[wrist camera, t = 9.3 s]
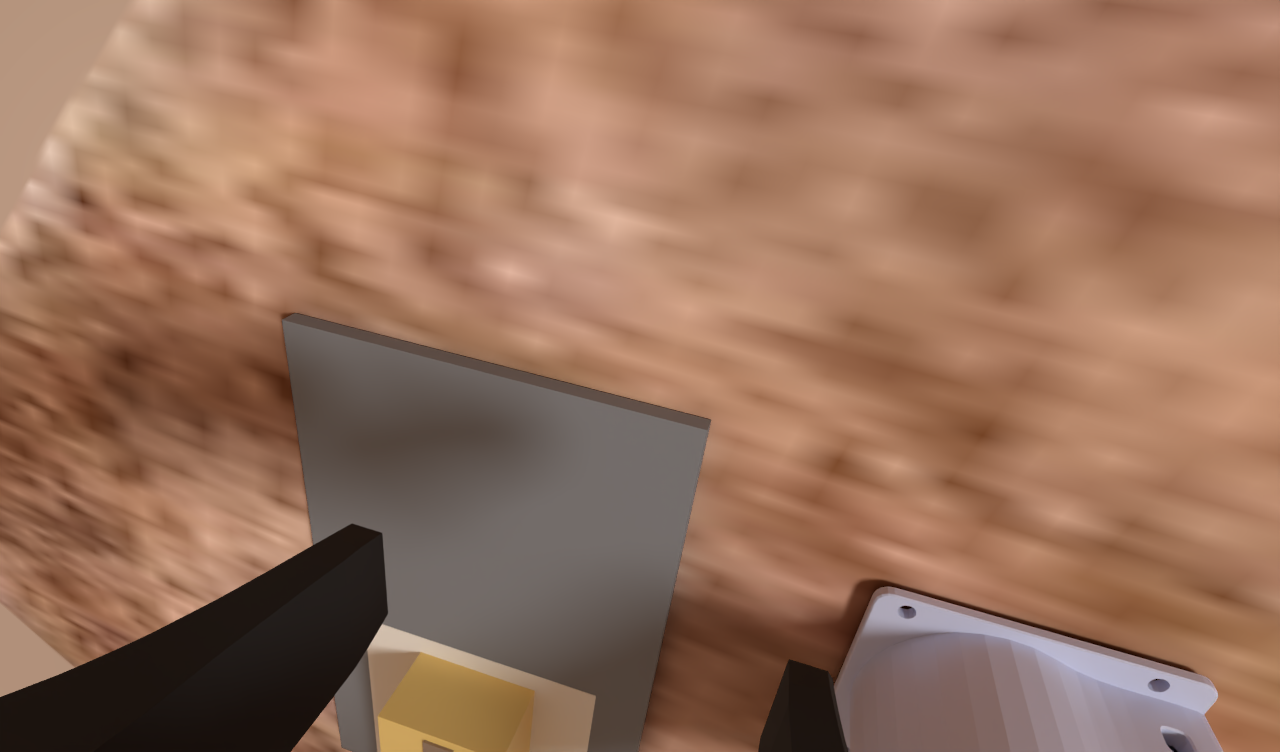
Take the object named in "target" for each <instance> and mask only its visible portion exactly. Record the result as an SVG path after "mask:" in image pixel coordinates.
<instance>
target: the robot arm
mask: <svg viewBox="0 0 1280 752" xmlns="http://www.w3.org/2000/svg"><path fill="white" fill-rule="evenodd" d="M902 606H911V607H913V608H910V609H903V608H901V607H902ZM387 615H388V604H387V590H386V576H385V563H384V549H383V535H382V533H381V532H378V531H375V530H372V529H368V528H365V527H362V526H359V525H355V524H350V525H348V526H346V527H344V528H343V529H341V530H339V531H337V532H335V533H334V534H332V535H330V536H328V537H327V538H325V539H323V540H321V541H320V542H318V543H316V544H314V545H313V546H311V547H309V548H308V549H306V550H304V551H302V552H301V553H299V554H297V555H295V556H294V557H292V558H290V559H288V560H287V561H285V562H283V563H281V564H280V565H278V566H276V567H275V568H273V569H271V570H269V571H268V572H266V573H264V574H262V575H260V576H259V577H257V578H255V579H253V580H251V581H250V582H248V583H246V584H244V585H242V586H241V587H239V588H237V589H235V590H233V591H232V592H230V593H228V594H226V595H224V596H223V597H221V598H219V599H217V600H215V601H213V602H211V603H209V604H208V605H206V606H204V607H202V608H200V609H198V610H196V611H194V612H192V613H190V614H188V615H186V616H184V617H182V618H180V619H178V620H176V621H174V622H172V623H171V624H169V625H167V626H165V627H163V628H161V629H159V630H157V631H155V632H153V633H151V634H149V635H147V636H145V637H143V638H140V639H138V640H136V641H134V642H132V643H130V644H128V645H125V646H123V647H121V648H119V649H117V650H115V651H112V652H110V653H108V654H106V655H103V656H101V657H99V658H96V659H94V660H92V661H90V662H87V663H85V664H83V665H80V666H78V667H76V668H74V669H71V670H69V671H66V672H64V673H62V674H59V675H57V676H54V677H52V678H49V679H47V680H44V681H41V682H39V683H36V684H33V685H31V686H28V687H26V688H23V689H21V690H18V691H15V692H13V693H10V694H7V695H5V696H2V697H0V752H291V750H292V749H293V748H294V747H295V745H296V744H297V743H298V742H299V740H300V739H301V738H302V736H303V735H304V734H305V733H306V731H307V730H308V729H309V727H310V726H311V725H312V724H313V722H314V721H315V720H316V719H317V717H318V716H319V715H320V713H321V712H322V711H323V710H324V708H325V707H326V706H327V704H328V703H329V702H330V700H331V699H332V698H333V697H334V695H335V694H336V693H337V691H338V690H339V689H340V687H341V686H342V685H343V684H344V682H345V681H346V680H347V678H348V677H349V676H350V674H351V673H352V672H353V670H354V669H355V668H356V666H357V665H358V663H359V661H360V660H361V658H362V657H363V655H364V653H365V652H366V650H367V649H368V647H369V645H370V644H371V642H372V640H373V639H374V637H375V635H376V634H377V632H378V630H379V629H380V627H381V625H382V623H383V622H384V620H385V618H386V617H387ZM1154 679H1160V680H1155V681H1153V680H1154ZM1217 698H1218V693H1217V690H1216V688H1215V687H1214V685H1213V683H1212V682H1211V681H1210V680H1209V679H1208V678H1207V677H1205V676H1202V675H1199V674H1196V673H1192V672H1189V671H1185V670H1182V669H1178V668H1175V667H1171V666H1168V665H1164V664H1161V663H1157V662H1154V661H1150V660H1147V659H1143V658H1140V657H1136V656H1133V655H1129V654H1126V653H1122V652H1119V651H1115V650H1112V649H1108V648H1105V647H1101V646H1098V645H1094V644H1091V643H1087V642H1084V641H1080V640H1077V639H1073V638H1070V637H1066V636H1063V635H1059V634H1056V633H1052V632H1049V631H1045V630H1042V629H1038V628H1035V627H1031V626H1028V625H1024V624H1021V623H1017V622H1014V621H1010V620H1007V619H1003V618H1000V617H996V616H993V615H989V614H986V613H982V612H979V611H975V610H972V609H968V608H965V607H961V606H958V605H954V604H951V603H948V602H944V601H941V600H937V599H934V598H930V597H927V596H923V595H920V594H916V593H913V592H909V591H906V590H902V589H899V588H895V587H888V586H887V587H881V588H879V589H877V590H876V591H875V592H874V593H873V595H872V597H871V600H870V602H869V604H868V607H867V609H866V611H865V614H864V616H863V619H862V621H861V623H860V626H859V628H858V630H857V633H856V635H855V637H854V640H853V642H852V645H851V647H850V649H849V652H848V654H847V656H846V659H845V661H844V663H843V666H842V668H841V670H840V673H839V675H838V678H837V680H836V682H835V685H834V684H833V678H832V677H831V675H830V674H829V673H828V671H825V670H822V669H819V668H815V667H812V666H809V665H806V664H802V663H799V662H796V661H793V660H790V659H789V661H788V663H787V666H786V669H785V672H784V675H783V677H782V680H781V683H780V686H779V688H778V691H777V694H776V697H775V699H774V702H773V705H772V708H771V710H770V713H769V716H768V719H767V721H766V724H765V727H764V730H763V732H762V735H761V738H760V745H759V751H758V752H1223V750H1222V748H1221V746H1220V744H1219V742H1218V740H1217V739H1216V737H1215V735H1214V733H1213V731H1212V729H1211V727H1210V725H1209V723H1208V721H1207V719H1206V717H1205V716H1204V714H1205V713H1206V712H1207V711H1208V709H1209V708H1210V707H1211V706H1212V705H1213V704H1214V703H1215V701H1216V700H1217Z"/></svg>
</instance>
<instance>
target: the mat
mask: <svg viewBox="0 0 1280 752" xmlns="http://www.w3.org/2000/svg"><path fill="white" fill-rule="evenodd" d="M282 324H283V331H284V338H285V346H286V353H287V360H288V367H289V374H290V381H291V388H292V396H293V403H294V410H295V417H296V424H297V431H298V439H299V446H300V453H301V460H302V467H303V474H304V481H305V489H306V496H307V503H308V510H309V517H310V524H311V531H312V539H313V545H314V544H316V543H318V542H320V541H321V540H323V539H325V538H327V537H328V536H330V535H332V534H334V533H335V532H337V531H339V530H341V529H343V528H344V527H346V526H348V525H350V524H355V525H359V526H362V527H365V528H368V529H372V530H375V531H378V532H381V533H382V535H383V549H384V563H385V576H386V590H387V604H388V615H387V617H386V618H385V620H384V622H383V623H382V625H381V627H380V629H379V630H378V632H377V634H376V635H375V637H374V639H373V640H372V642H371V644H370V645H369V647H368V649H367V650H366V652H365V653H364V655H363V657H362V658H361V660H360V661H359V663H358V665H357V666H356V668H355V669H354V670H353V672H352V673H351V674H350V676H349V677H348V678H347V680H346V681H345V682H344V684H343V685H342V686H341V687H340V689H339V690H338V691H337V693H336V694H335V695H334V696H335V703H336V710H337V717H338V724H339V732H340V739H341V746H342V748H344V749H347V750H350V751H352V752H381V749H380V738H379V726H378V715H379V713H380V712H381V710H382V709H383V707H384V706H385V704H386V703H387V702H388V700H389V699H390V697H391V696H392V694H393V693H394V691H395V690H396V688H397V687H398V685H399V684H400V682H401V681H402V679H403V678H404V676H405V675H406V673H407V672H408V670H409V669H410V667H411V666H412V665H413V663H414V662H415V660H416V659H417V657H418V656H419V654H420V653H421V652H423V653H426V654H428V655H431V656H434V657H437V658H440V659H443V660H446V661H449V662H452V663H455V664H458V665H461V666H464V667H466V668H469V669H472V670H475V671H478V672H481V673H484V674H487V675H490V676H493V677H496V678H499V679H502V680H505V681H507V682H510V683H513V684H516V685H519V686H522V687H525V688H528V689H531V690H534V691H535V695H534V706H533V717H532V728H531V739H530V750H529V752H638V750H639V746H640V741H641V737H642V732H643V728H644V723H645V719H646V714H647V709H648V705H649V700H650V696H651V691H652V687H653V682H654V678H655V673H656V669H657V664H658V659H659V655H660V650H661V646H662V641H663V637H664V632H665V628H666V623H667V619H668V614H669V609H670V605H671V600H672V596H673V591H674V587H675V582H676V578H677V573H678V568H679V564H680V559H681V555H682V550H683V546H684V541H685V537H686V532H687V528H688V523H689V518H690V514H691V509H692V505H693V500H694V496H695V491H696V487H697V482H698V478H699V473H700V468H701V464H702V459H703V455H704V450H705V446H706V441H707V437H708V432H709V428H710V423H711V420H710V419H706V418H702V417H698V416H694V415H690V414H686V413H682V412H679V411H675V410H671V409H667V408H663V407H659V406H655V405H651V404H647V403H644V402H640V401H636V400H632V399H628V398H624V397H620V396H616V395H612V394H608V393H605V392H601V391H597V390H593V389H589V388H585V387H581V386H577V385H573V384H570V383H566V382H562V381H558V380H554V379H550V378H546V377H542V376H538V375H535V374H531V373H527V372H523V371H519V370H515V369H511V368H507V367H503V366H500V365H496V364H492V363H488V362H484V361H480V360H476V359H472V358H468V357H465V356H461V355H457V354H453V353H449V352H445V351H441V350H437V349H433V348H430V347H426V346H422V345H418V344H414V343H410V342H406V341H402V340H398V339H394V338H391V337H387V336H383V335H379V334H375V333H371V332H367V331H363V330H359V329H356V328H352V327H348V326H344V325H340V324H336V323H332V322H328V321H324V320H321V319H317V318H313V317H309V316H305V315H301V314H297V313H294V314H292V315H290V316H288V317H286V318H284V319H282Z"/></svg>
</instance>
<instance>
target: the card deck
mask: <svg viewBox="0 0 1280 752" xmlns="http://www.w3.org/2000/svg"><path fill="white" fill-rule="evenodd" d="M534 695H535V691H534V690H531V689H528V688H525V687H522V686H519V685H516V684H513V683H510V682H507V681H505V680H502V679H499V678H496V677H493V676H490V675H487V674H484V673H481V672H478V671H475V670H472V669H469V668H466V667H464V666H461V665H458V664H455V663H452V662H449V661H446V660H443V659H440V658H437V657H434V656H431V655H428V654H426V653H423V652H421V653H420V654H419V656H418V657H417V659H416V660H415V662H414V663H413V665H412V666H411V667H410V669H409V670H408V672H407V673H406V675H405V676H404V678H403V679H402V681H401V682H400V684H399V685H398V687H397V688H396V690H395V691H394V693H393V694H392V696H391V697H390V699H389V700H388V702H387V703H386V704H385V706H384V707H383V709H382V710H381V712H380V713H379V715H378V726H379V738H380V749H381V752H529V750H530V739H531V728H532V717H533V706H534Z"/></svg>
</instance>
